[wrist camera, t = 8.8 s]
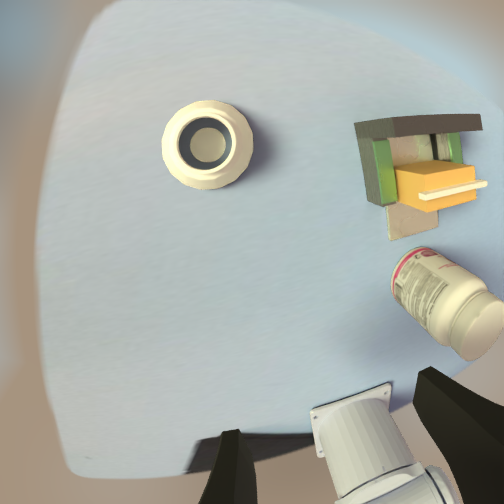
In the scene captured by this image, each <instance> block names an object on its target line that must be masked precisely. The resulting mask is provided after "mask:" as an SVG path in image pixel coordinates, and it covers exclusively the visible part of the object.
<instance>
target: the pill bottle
mask: <svg viewBox="0 0 504 504" xmlns="http://www.w3.org/2000/svg"><path fill="white" fill-rule="evenodd" d="M391 291H392V294H393V296H394V298H395V299H396V301H397V302H398V303H399V304H400V305H401V306H402V307H403V308H404V309H405V310H406V311H407V312H408V313H409V314H410V315H411V316H412V317H413V318H414V319H415V320H416V321H417V322H418V323H419V324H420V325H421V326H422V327H423V328H424V329H425V330H426V331H427V332H428V333H429V334H430V335H431V336H432V337H433V338H434V339H435V340H436V341H437V342H438V343H440V344H441V345H443V346H451V348H453V349H454V350H455V351H456V353H457V354H458V355H459V356H460V357H461V358H463V359H464V360H466V361H473V360H476V359H478V358H479V357H481V356H482V355H483V354H485V353H486V352H487V351H488V350H489V349H490V348H491V346H492V345H493V344H494V343H495V341H496V339H497V338H498V336H499V335H500V333H501V331H502V329H503V326H504V303H503V301H501V300H500V299H499V298H497V297H496V296H495V295H494V294H492V293H490V292H488V289H487V286H486V285H485V283H484V282H483V281H482V280H481V279H480V278H479V277H477V276H475V275H474V274H472V273H470V272H469V271H467V270H466V269H464V268H462V267H461V266H459V265H457V264H456V263H454V262H452V261H451V260H449V259H447V258H445V257H444V256H442V255H440V254H438V253H437V252H435V251H433V250H431V249H429V248H426V247H419V248H415V249H412V250H410V251H409V252H407V253H406V254H405V255H404V256H403V257H402V258H401V260H400V261H399V262H398V264H397V265H396V267H395V269H394V271H393V274H392V277H391Z"/></svg>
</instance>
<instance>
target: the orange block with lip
mask: <svg viewBox="0 0 504 504" xmlns="http://www.w3.org/2000/svg"><path fill="white" fill-rule="evenodd" d="M394 174H395V181H396V190H397V199H398V201H397V202H400V203H403V204H406V205H408V206H411V207H414V208H416V209H419V210H422V211H424V212H427V213H428V212H431V211H435V210H439V209H442V208H446V207H450V206H454V205H457V204H461V203H465V202H468V201H472V200H476V188H481V187H485V186H487V181H486V180H481V179H479V180H475V168H474V166H472V165H466V164H459V163H453V162H446V161H439V160H431V161H425V162H419V163H413V164H407V165H401V166H395V167H394Z"/></svg>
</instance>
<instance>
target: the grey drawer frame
mask: <svg viewBox="0 0 504 504" xmlns="http://www.w3.org/2000/svg"><path fill="white" fill-rule="evenodd" d="M354 125H355V130H356V135H357V140H358V145H359V150H360V156H361V161H362V167H363V173H364V179H365V186H366V193H367V200H368V201H369V202H372V203H374V204H377V205H379V206H382V207H384V206H386V215H387V226H388V238H389V240H390V241H392V240H396V239H399V238H403V237H406V236H409V235H413V234H416V233H419V232H423V231H426V230H429V229H433V228H436V227H438V210H435V211H431V212H428V213H427V212H424V211H422V210H419V209H416V208H414V207H411V206H408V205H406V204H403V203H400V202H397V201H398V199H397V190H396V181H395V174H394V167H395V166H401V165H407V164H413V163H419V162H425V161H431V160H433V158H434V160H439V161H446V162H453V163H459V164H463V159H462V150H461V142H460V135H459V132H460V131H477V130H483V129H482V122H481V116H480V114H437V115H417V116H403V117H391V118H384V119H377V120H370V121H364V122H357V123H354ZM430 137H431V140H430ZM431 143H432V147H431ZM432 150H433V154H432Z"/></svg>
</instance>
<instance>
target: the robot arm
mask: <svg viewBox="0 0 504 504" xmlns="http://www.w3.org/2000/svg"><path fill="white" fill-rule="evenodd" d="M390 396H391V385H390V384H389V383H386V384H384V385H381V386H379V387H376V388H374V389H371V390H368V391H366V392H363V393H360V394H357V395H355V396H352V397H349V398H346V399H343V400H340V401H337V402H334V403H331V404H328V405H324V406H321V407H318V408H314V409H312V410H311V411H310V419H311V424H312V430H313V435H314V441H315V446H316V451H317V456H318V457H324V456H325V457H326V461H327V464H328V467H329V470H330V473H331V476H332V479H333V483H334V486H335V489H336V492H337V495H338V498H339V500H337V501H335V504H460V502H459V499H458V496H457V494H456V491H455V489H454V487H453V485H452V483H451V482H450V480H449V478H448V477H447V475H446V474H445V472H444V471H443V470H442V469H441V468H440V467H435V466H432V465H429V466H428V467H426V468H425V469H424V467H423V465H422V463H421V462H420V461H419V462H416V460H415V458H414V456H413V454H412V453H411V451H410V449H409V447H408V445H407V444H406V442H405V440H404V438H403V436H402V434H401V433H400V431H399V429H398V427H397V425H396V424H395V422H394V420H393V418H392V417H391V415H390V413H389V403H390ZM413 405H414V407H415V409H416V411H417V413H418V416H419V417H420V419H421V422H422V423H423V425H424V426H425V428H426V429H427V431H428V433H429V434H430V436H431V437H432V439H433V440H434V442H435V443H436V445H437V446H438V448H439V449H440V451H441V452H442V454H443V456H444V457H445V459H446V461H447V462H448V464H449V466H450V469H451V471H452V473H453V475H454V478H455V480H456V483H457V485H458V488H459V491H460V493H461V496H462V499H463V503H464V504H504V406H501V405H498V404H496V403H494V402H492V401H490V400H488V399H486V398H484V397H481V396H480V395H478V394H476V393H474V392H472V391H471V390H469V389H467V388H465V387H463V386H462V385H460V384H459V383H457V382H456V381H454V380H452V379H451V378H449V377H447V376H446V375H444V374H443V373H441V372H440V371H438V370H436V369H435V368H433V367H431V366H430V367H428V368H426V369H424V370H422V371H419V372H418V378H417V383H416V389H415V394H414V398H413ZM198 504H258V503H257V486H256V474H255V468H254V462H253V457H252V453H251V451H250V449H249V447H248V446H247V444H246V442H245V440H244V438H243V436H242V434H241V432H240V430H239V429H235V430H229V431H223V432H222V433H221V437H220V442H219V446H218V450H217V454H216V457H215V461H214V464H213V467H212V470H211V473H210V476H209V479H208V482H207V485H206V487H205V489H204V492H203V494H202V497H201V499H200V501H199V503H198Z"/></svg>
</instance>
